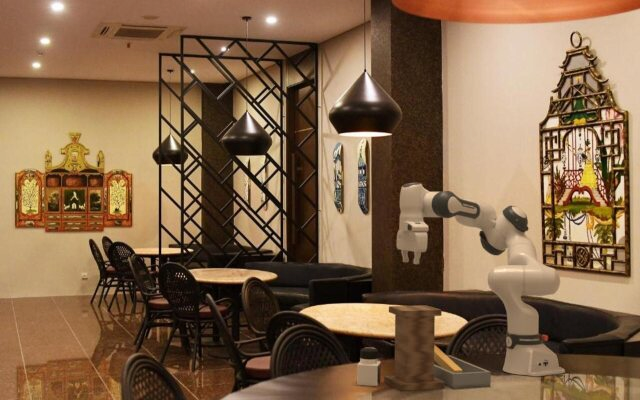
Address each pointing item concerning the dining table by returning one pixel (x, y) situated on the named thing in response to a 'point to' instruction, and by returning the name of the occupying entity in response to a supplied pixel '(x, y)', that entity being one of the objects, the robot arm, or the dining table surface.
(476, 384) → the tray
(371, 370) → the medicine bottle
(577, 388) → the dining table surface
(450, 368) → the rod
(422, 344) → the stand
